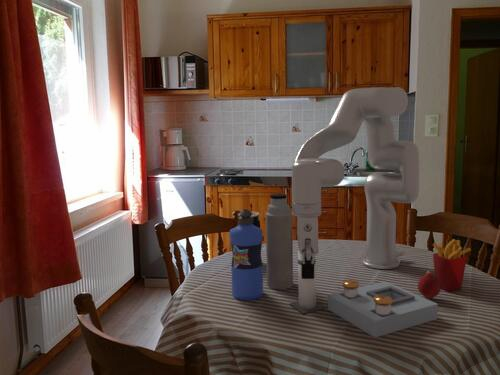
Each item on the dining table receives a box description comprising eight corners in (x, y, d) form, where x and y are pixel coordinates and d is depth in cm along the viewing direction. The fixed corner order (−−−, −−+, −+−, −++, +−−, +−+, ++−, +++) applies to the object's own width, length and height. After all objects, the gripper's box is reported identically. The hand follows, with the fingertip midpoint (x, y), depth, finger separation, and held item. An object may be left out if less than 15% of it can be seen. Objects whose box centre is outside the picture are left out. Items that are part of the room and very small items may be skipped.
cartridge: (315, 301, 123) (315, 248, 121) (316, 309, 118) (316, 254, 116) (298, 301, 123) (297, 249, 121) (298, 309, 119) (298, 254, 116)
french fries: (430, 285, 134) (432, 236, 132) (452, 281, 137) (454, 233, 134) (453, 296, 126) (455, 244, 123) (476, 292, 128) (478, 241, 126)
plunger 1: (351, 302, 121) (351, 278, 120) (361, 308, 117) (362, 283, 116) (339, 306, 119) (339, 281, 118) (349, 311, 116) (349, 286, 115)
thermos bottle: (294, 280, 141) (293, 192, 137) (291, 290, 133) (290, 196, 129) (269, 279, 142) (267, 192, 138) (265, 288, 135) (263, 196, 131)
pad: (310, 299, 125) (310, 298, 125) (325, 308, 119) (325, 307, 119) (289, 304, 122) (289, 303, 122) (303, 314, 116) (303, 312, 116)
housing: (385, 294, 128) (386, 278, 127) (437, 319, 112) (437, 300, 111) (328, 309, 119) (328, 291, 118) (374, 337, 103) (375, 318, 102)
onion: (439, 296, 126) (440, 268, 125) (440, 304, 120) (441, 275, 119) (417, 294, 128) (417, 267, 127) (417, 302, 122) (418, 273, 121)
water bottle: (252, 302, 124) (250, 214, 121) (225, 296, 129) (222, 211, 126) (269, 291, 132) (268, 208, 128) (242, 286, 137) (240, 205, 133)
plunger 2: (382, 319, 111) (383, 293, 110) (395, 326, 107) (396, 299, 106) (369, 323, 109) (370, 296, 108) (381, 330, 105) (382, 303, 104)
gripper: (324, 215, 108) (324, 284, 111) (318, 202, 125) (318, 262, 128) (293, 215, 109) (293, 283, 111) (291, 202, 126) (291, 262, 128)
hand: (306, 272), depth 119 cm, fingers open, 9 cm apart
